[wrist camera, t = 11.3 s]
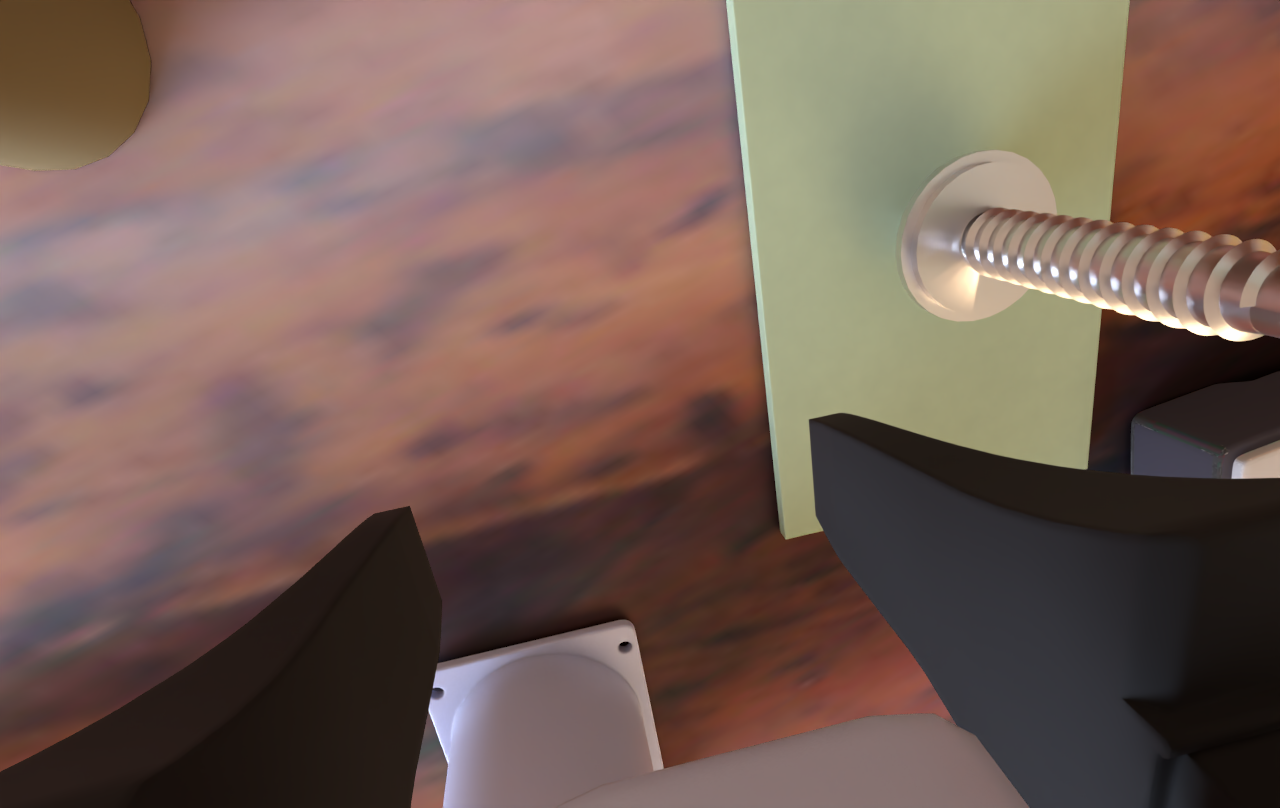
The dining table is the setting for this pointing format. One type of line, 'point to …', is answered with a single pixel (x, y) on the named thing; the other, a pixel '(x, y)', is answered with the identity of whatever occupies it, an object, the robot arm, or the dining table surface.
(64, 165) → the olive pawn
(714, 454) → the dining table surface
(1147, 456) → the calculator
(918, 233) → the screw
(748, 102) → the mat
